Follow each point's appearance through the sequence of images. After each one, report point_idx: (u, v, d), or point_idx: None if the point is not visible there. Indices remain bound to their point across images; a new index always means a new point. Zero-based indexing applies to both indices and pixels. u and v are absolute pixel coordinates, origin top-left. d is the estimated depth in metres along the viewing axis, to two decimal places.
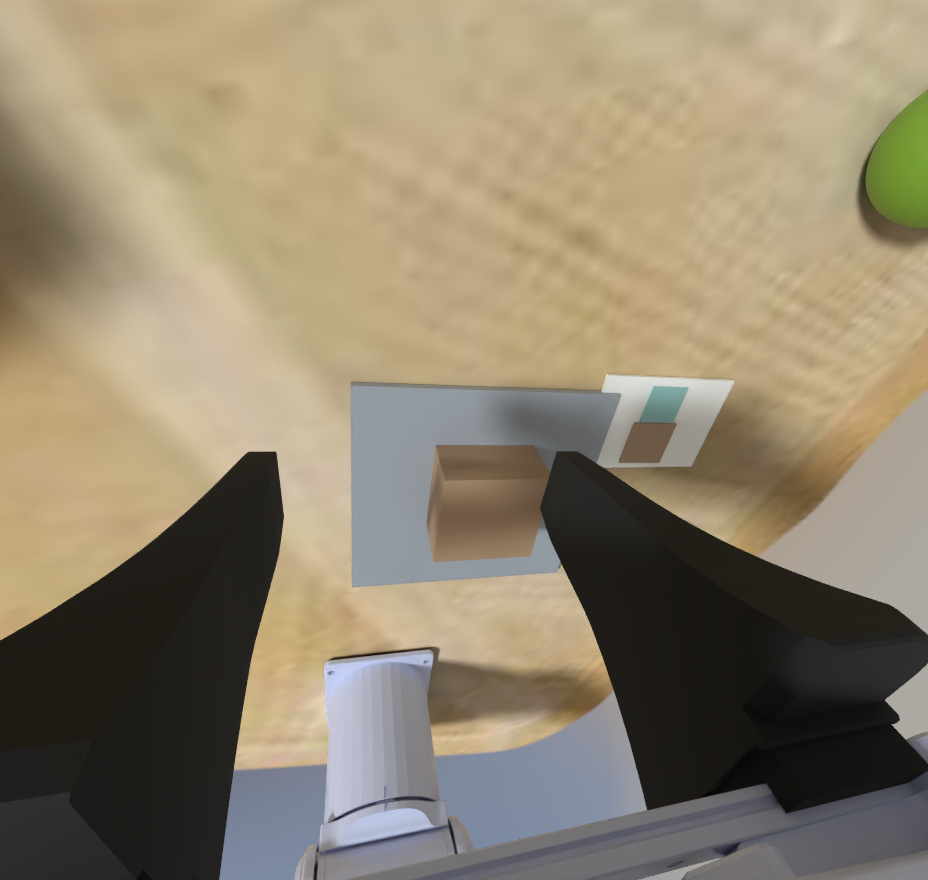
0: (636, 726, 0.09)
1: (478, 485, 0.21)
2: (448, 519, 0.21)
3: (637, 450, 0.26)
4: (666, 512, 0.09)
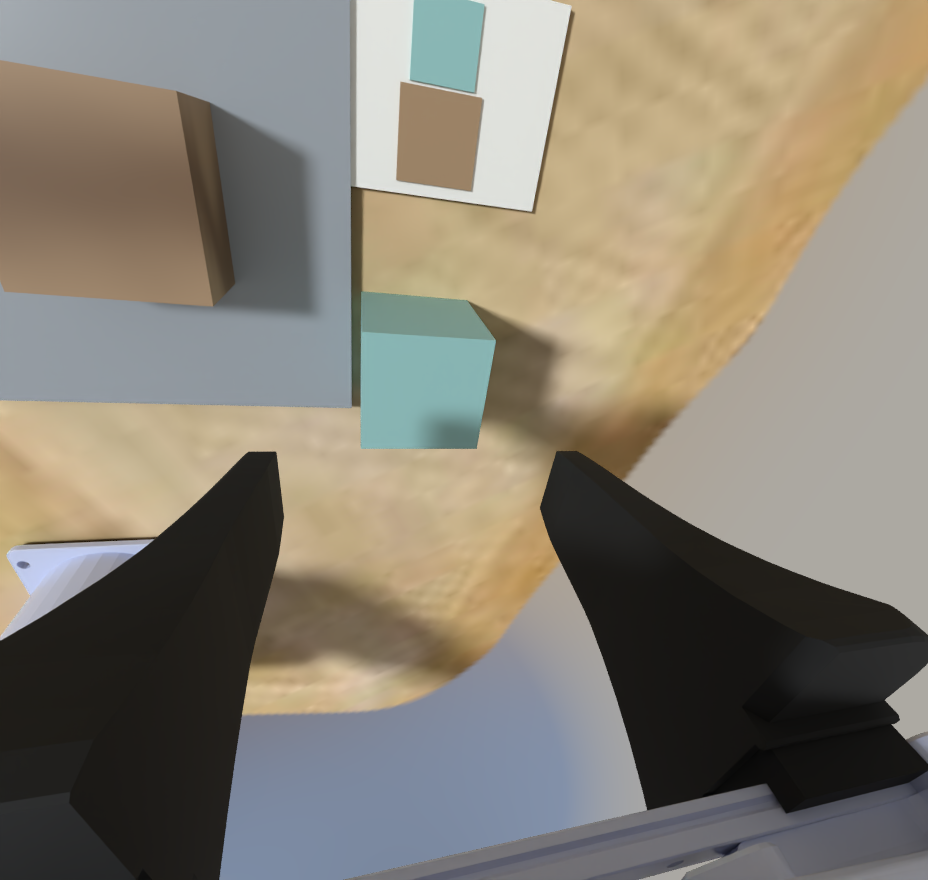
0: (636, 726, 0.09)
1: None
2: None
3: (424, 156, 0.16)
4: (666, 512, 0.09)
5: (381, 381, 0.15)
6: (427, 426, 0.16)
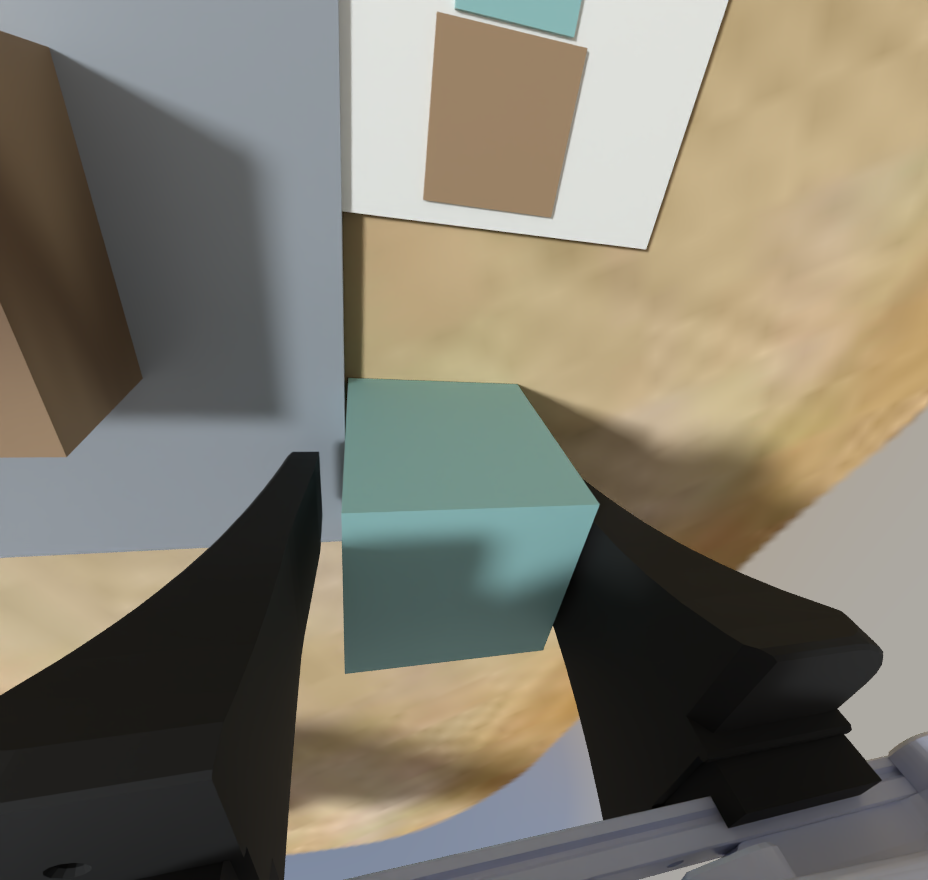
0: (593, 733, 0.08)
1: None
2: None
3: (475, 158, 0.09)
4: (626, 514, 0.09)
5: (381, 582, 0.08)
6: (462, 633, 0.09)
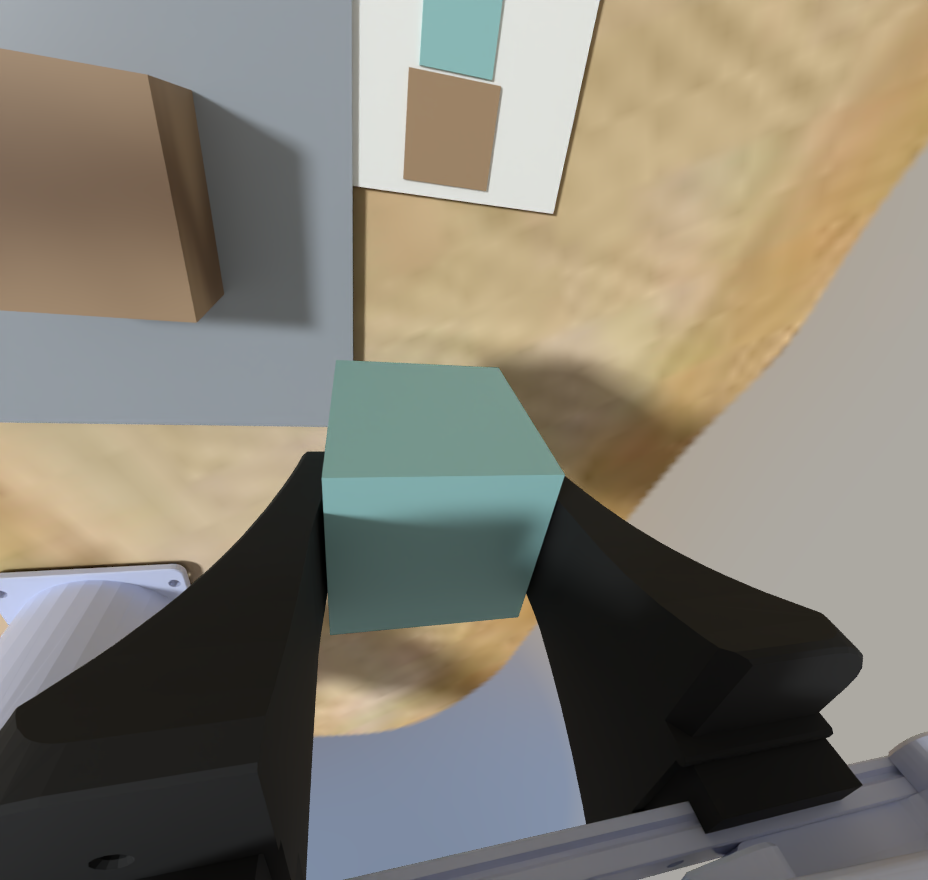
0: (577, 736, 0.08)
1: None
2: None
3: (435, 153, 0.14)
4: (611, 514, 0.09)
5: (362, 546, 0.08)
6: (440, 598, 0.10)
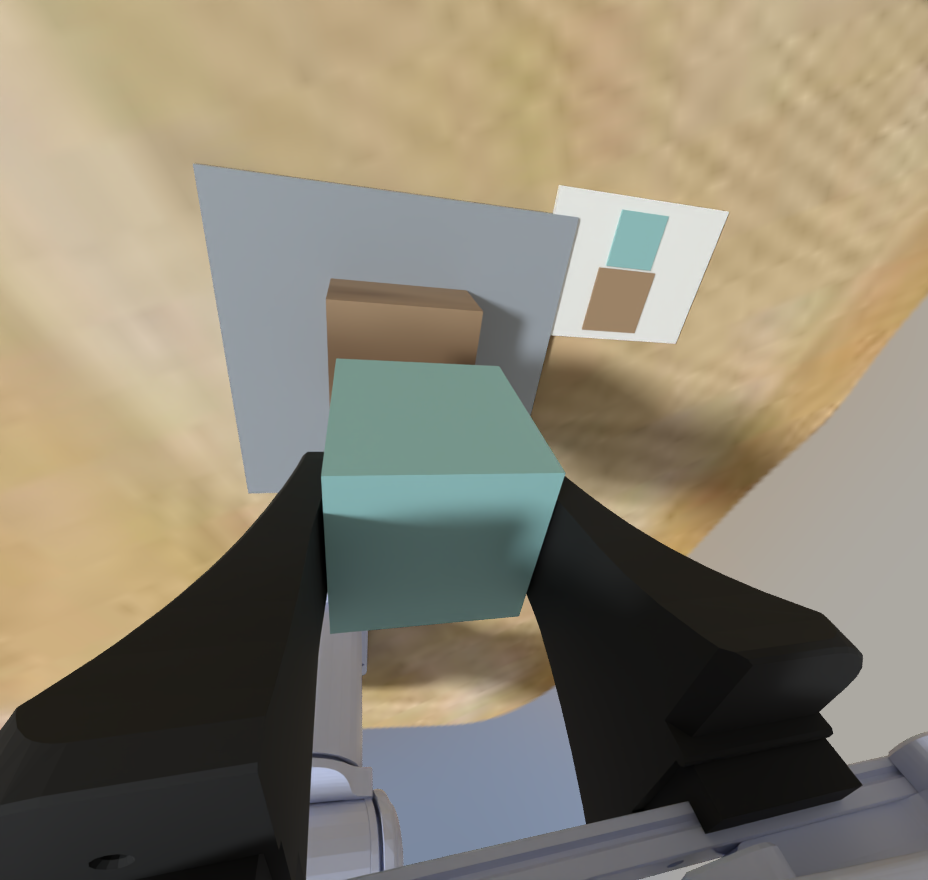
0: (577, 736, 0.08)
1: (375, 312, 0.15)
2: None
3: (605, 312, 0.20)
4: (611, 514, 0.09)
5: (361, 544, 0.08)
6: (440, 597, 0.10)
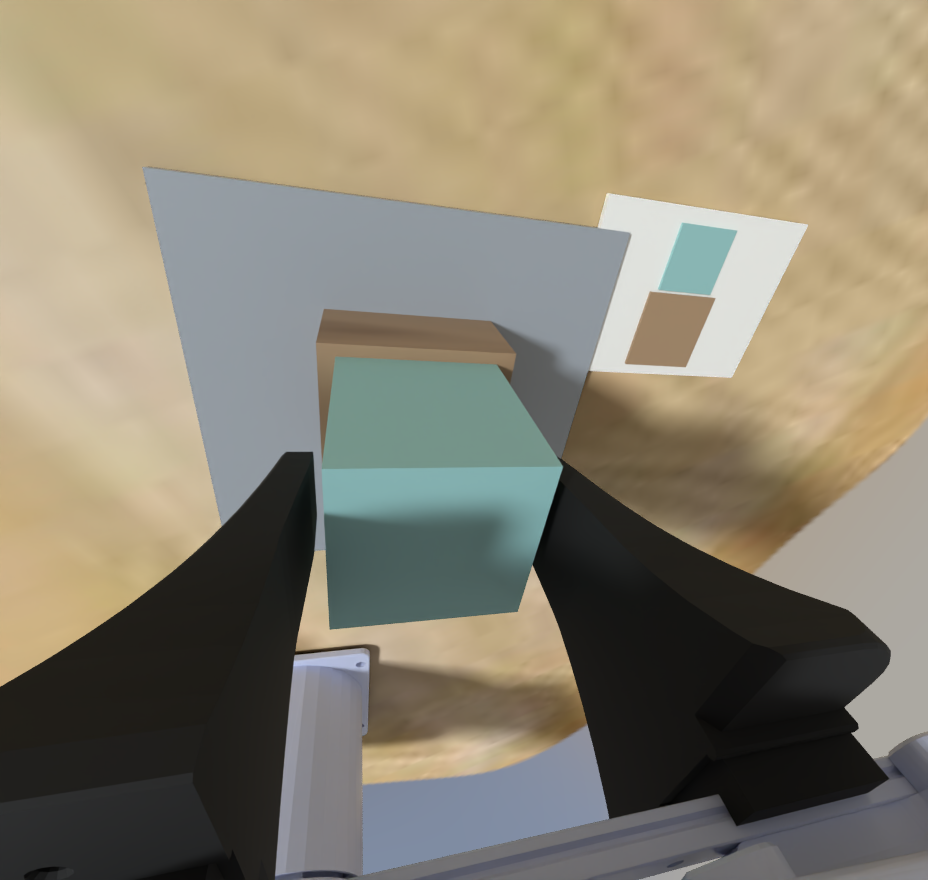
0: (600, 732, 0.08)
1: (380, 358, 0.12)
2: None
3: (653, 344, 0.17)
4: (632, 513, 0.09)
5: (361, 538, 0.08)
6: (439, 591, 0.10)
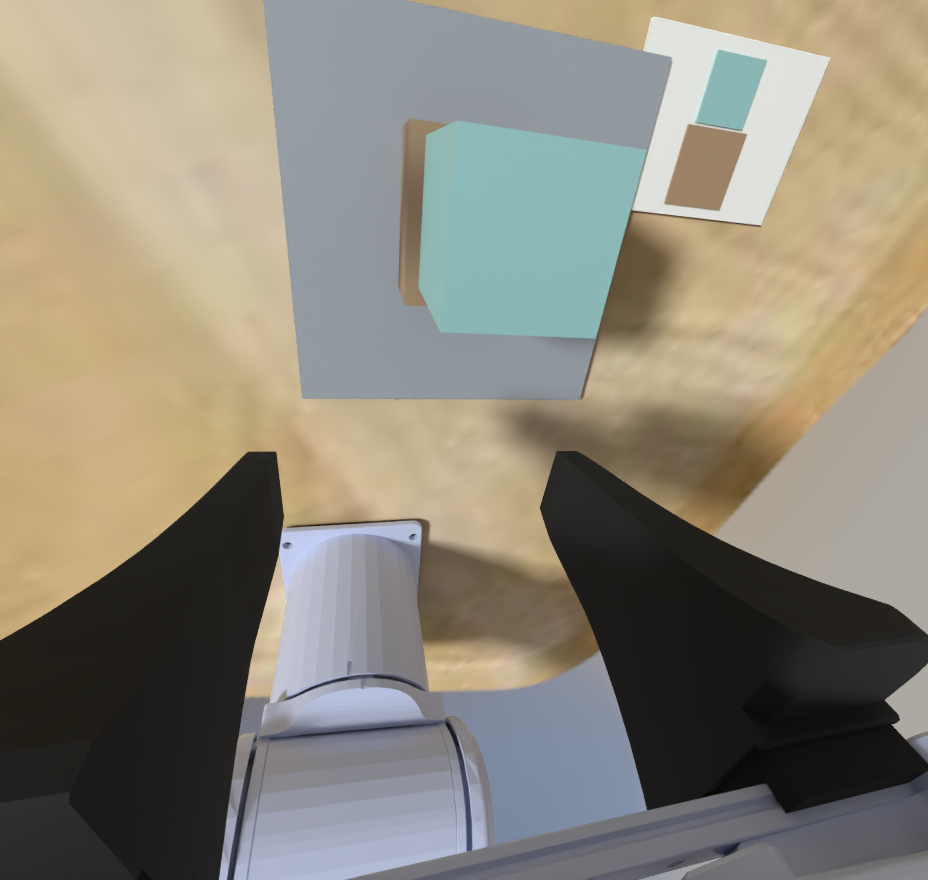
0: (636, 726, 0.09)
1: None
2: (421, 212, 0.14)
3: (690, 183, 0.19)
4: (666, 512, 0.09)
5: (478, 214, 0.10)
6: (534, 298, 0.11)
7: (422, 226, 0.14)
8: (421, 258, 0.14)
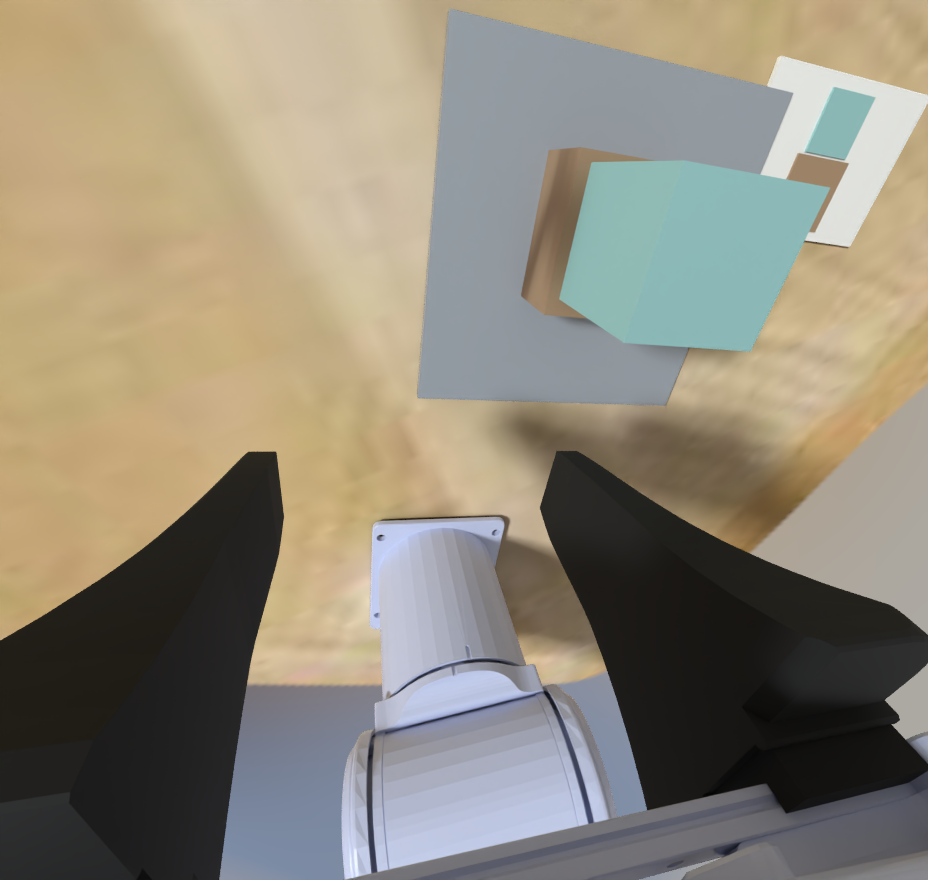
0: (636, 726, 0.09)
1: None
2: (574, 230, 0.15)
3: None
4: (666, 512, 0.09)
5: (680, 241, 0.11)
6: (708, 314, 0.13)
7: (575, 243, 0.15)
8: (570, 272, 0.16)
